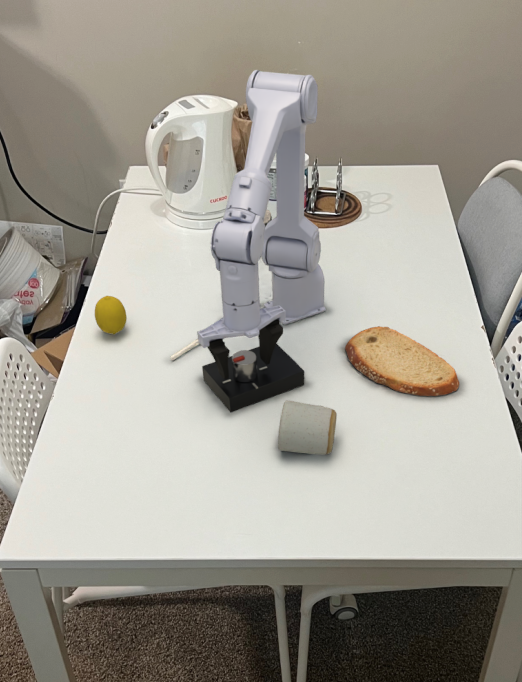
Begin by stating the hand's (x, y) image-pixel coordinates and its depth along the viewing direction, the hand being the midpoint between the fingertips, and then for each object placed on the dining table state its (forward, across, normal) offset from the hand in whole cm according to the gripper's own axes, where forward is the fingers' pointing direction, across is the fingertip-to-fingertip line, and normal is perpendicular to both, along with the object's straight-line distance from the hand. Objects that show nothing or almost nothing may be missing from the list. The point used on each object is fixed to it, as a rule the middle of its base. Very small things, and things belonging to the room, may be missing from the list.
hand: (244, 368), depth 122 cm
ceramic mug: (+5, +2, -16) cm, 17 cm away
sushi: (+4, +25, +43) cm, 50 cm away
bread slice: (+5, +26, -8) cm, 28 cm away
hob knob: (+1, 0, 0) cm, 1 cm away
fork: (+5, +2, +17) cm, 18 cm away
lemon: (+5, -13, +27) cm, 30 cm away
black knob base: (+4, +2, +1) cm, 5 cm away
